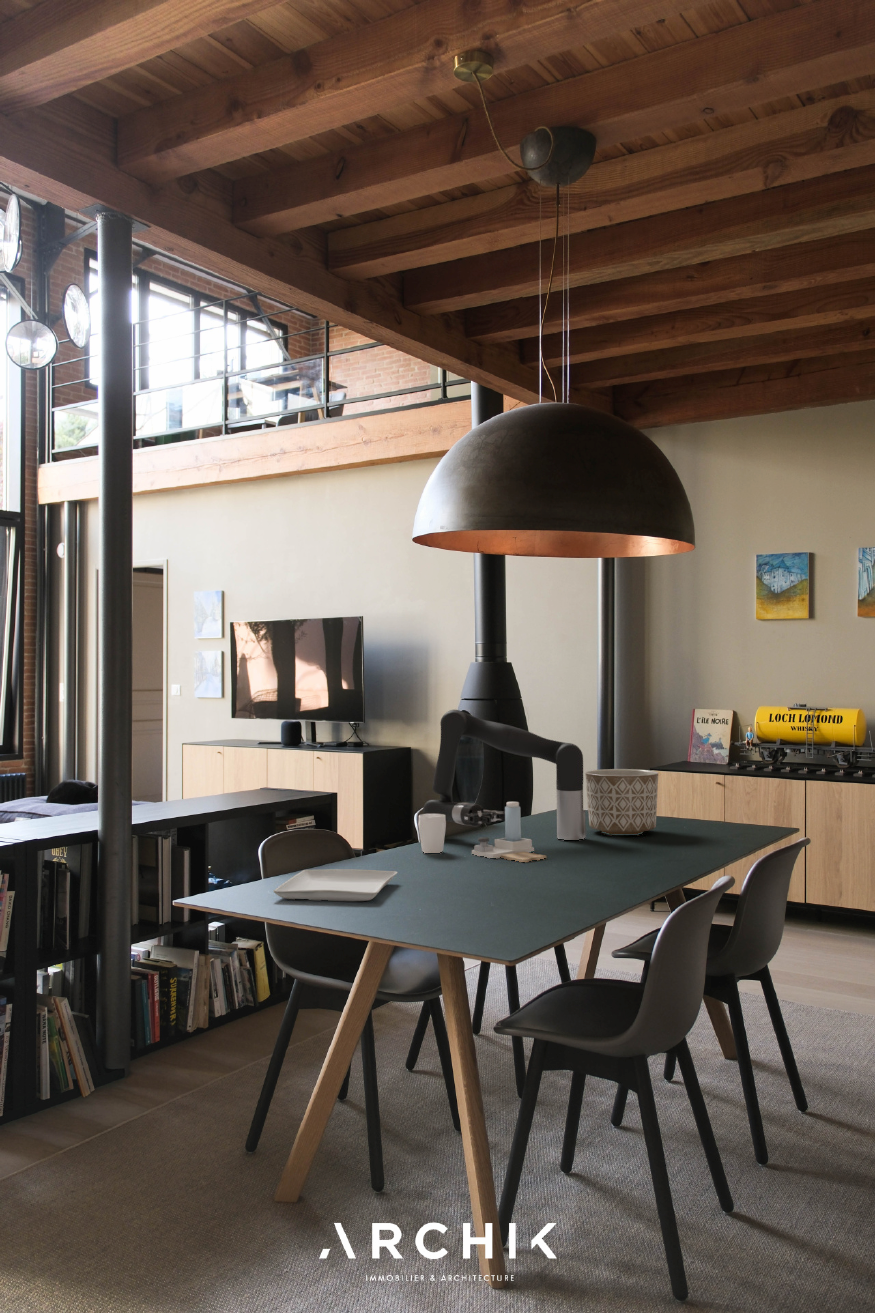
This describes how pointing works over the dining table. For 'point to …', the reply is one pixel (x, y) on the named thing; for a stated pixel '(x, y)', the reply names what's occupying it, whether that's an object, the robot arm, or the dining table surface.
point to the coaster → (523, 856)
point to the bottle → (512, 822)
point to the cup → (432, 832)
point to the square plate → (335, 884)
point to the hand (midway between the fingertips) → (499, 819)
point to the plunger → (483, 841)
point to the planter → (622, 800)
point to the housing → (503, 848)
